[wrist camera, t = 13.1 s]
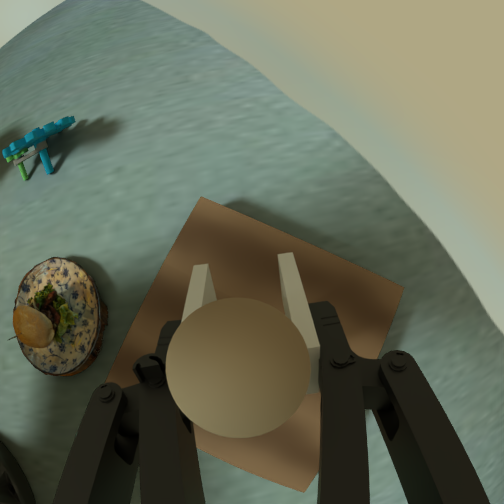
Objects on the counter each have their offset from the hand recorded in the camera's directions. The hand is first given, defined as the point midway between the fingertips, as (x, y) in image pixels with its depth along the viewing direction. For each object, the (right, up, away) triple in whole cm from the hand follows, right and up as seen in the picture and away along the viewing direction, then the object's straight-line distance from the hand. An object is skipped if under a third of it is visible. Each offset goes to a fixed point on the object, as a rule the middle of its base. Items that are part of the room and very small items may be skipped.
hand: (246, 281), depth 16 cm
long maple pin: (+1, -5, +2) cm, 5 cm away
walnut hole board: (0, -6, +9) cm, 11 cm away
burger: (-19, -5, +11) cm, 22 cm away
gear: (-25, +14, +16) cm, 33 cm away
